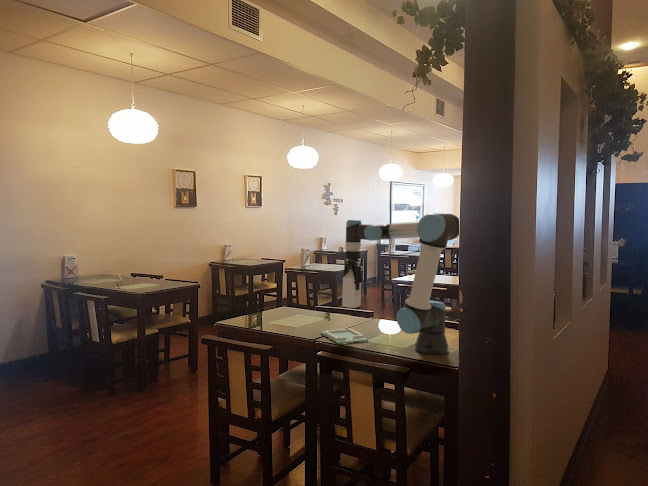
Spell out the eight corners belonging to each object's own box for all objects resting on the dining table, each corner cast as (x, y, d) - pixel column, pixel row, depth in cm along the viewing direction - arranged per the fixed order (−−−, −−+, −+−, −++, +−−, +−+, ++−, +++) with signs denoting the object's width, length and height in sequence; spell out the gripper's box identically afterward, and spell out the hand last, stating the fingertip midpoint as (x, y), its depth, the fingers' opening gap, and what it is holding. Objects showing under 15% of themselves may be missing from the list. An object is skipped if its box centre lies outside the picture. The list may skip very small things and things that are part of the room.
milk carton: (342, 306, 235) (343, 269, 234) (348, 304, 241) (349, 267, 240) (354, 308, 231) (355, 270, 230) (360, 306, 238) (361, 269, 236)
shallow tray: (367, 341, 230) (368, 336, 230) (338, 344, 223) (338, 340, 223) (347, 331, 250) (348, 326, 250) (320, 333, 244) (320, 329, 243)
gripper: (370, 252, 225) (368, 298, 227) (350, 248, 246) (348, 290, 248) (356, 252, 222) (354, 298, 224) (337, 248, 243) (335, 290, 245)
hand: (351, 294), depth 236 cm, fingers closed on milk carton, 10 cm apart
